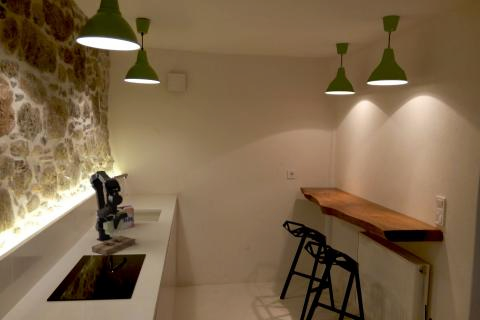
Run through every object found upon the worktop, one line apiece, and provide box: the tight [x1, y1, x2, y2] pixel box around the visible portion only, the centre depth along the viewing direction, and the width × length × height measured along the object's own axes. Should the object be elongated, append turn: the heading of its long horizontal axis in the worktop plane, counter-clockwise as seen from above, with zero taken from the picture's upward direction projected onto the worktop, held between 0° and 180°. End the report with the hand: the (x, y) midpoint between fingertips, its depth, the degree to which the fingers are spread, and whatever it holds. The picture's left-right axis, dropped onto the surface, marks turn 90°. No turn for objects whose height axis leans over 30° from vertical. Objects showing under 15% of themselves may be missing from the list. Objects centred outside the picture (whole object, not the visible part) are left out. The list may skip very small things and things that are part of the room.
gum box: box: [95, 205, 135, 232], centre depth 229 cm, size 24×8×14 cm, turn 124°
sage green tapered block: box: [103, 219, 122, 236], centre depth 194 cm, size 4×10×6 cm, turn 150°
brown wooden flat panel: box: [91, 235, 136, 257], centre depth 195 cm, size 12×20×3 cm, turn 150°
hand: (113, 228), depth 194 cm, fingers closed on sage green tapered block, 3 cm apart
